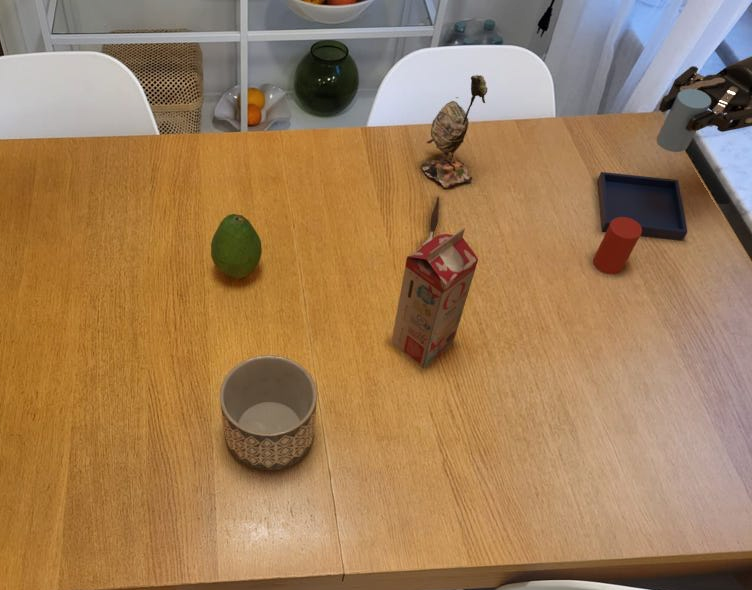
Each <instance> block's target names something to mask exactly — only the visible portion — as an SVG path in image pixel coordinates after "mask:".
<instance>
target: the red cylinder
mask: <svg viewBox="0 0 752 590" xmlns="http://www.w3.org/2000/svg"><path fill="white" fill-rule="evenodd" d="M641 233H642V228H641V226H640V224H639V223H638V222H636V221H635V220H633V219H631V218H627V217H618V218H615V219H613V220H612V221H611V223H610V225H609V227H608V229H607V231H606V232H605V233H604V236H603V238H602V240H601V241H600V244H599V246H598V248H597V250H596V253H595V254H594V257H593V260H592V262H593V265H594V267H595V268H596V269H597V270H598V271H600V272H602V273H604V274H607V275H615V274H619V273H621V271H622V270H623V269H624V267H625V265H626V263H627V262H628V260H629V258H630V256H631V254H632V253H633V250H634V248H635V246H636V245H637V243H638V241H639V239H640V237H641V236H640V235H641Z"/></svg>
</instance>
